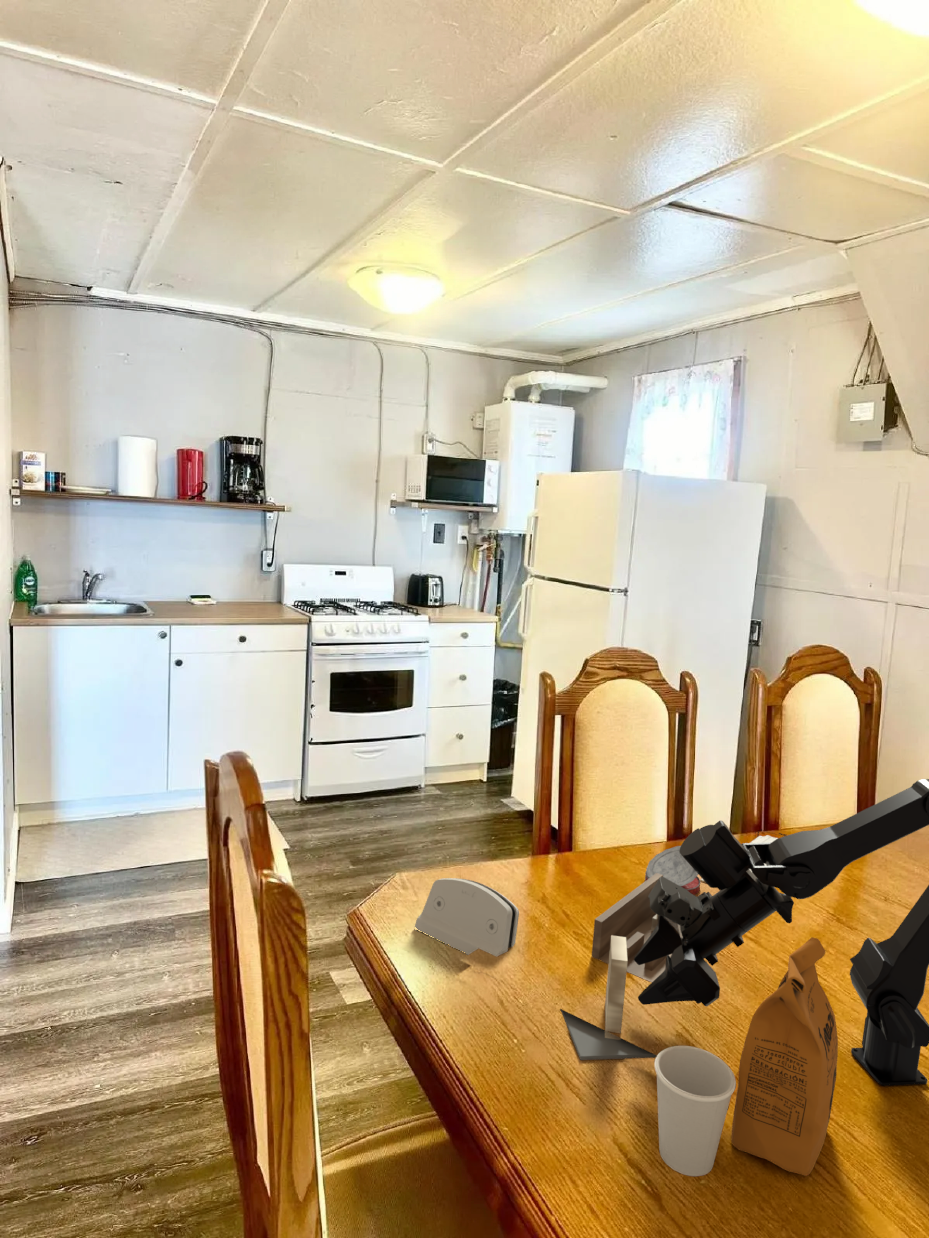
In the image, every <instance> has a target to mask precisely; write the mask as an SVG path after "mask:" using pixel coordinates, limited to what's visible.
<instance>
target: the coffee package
mask: <svg viewBox="0 0 929 1238" xmlns="http://www.w3.org/2000/svg"><path fill="white" fill-rule="evenodd" d="M824 955H826V949H825V948H824V946H823V944H822V943H821V940H820V939H819V938H817V937H811V938H809V939H808V940H807V941H806V942H805V943H803V944H802V945H801V946H800V947H799V948H797V949H796V950H795V951H793V952H792V953H790V954H789V955H788V961H787V962H788V963H787V964H788V965H787V969H788V970H786V972H785V974H784V976H783V977H782V979H781V981H780V983H779V985H778V987H777V989H776V990H775V991H774V992H772V993H771V994H770V995H769V996H767V997H766V998H765V999H763V1001H762V1002H760V1004H759V1006H758V1008H757V1009H756V1011H755V1012H754V1013H753V1015H752V1017H751V1020H750V1023H749V1026H748V1030H747V1034H746V1036H745V1040H744V1044H743V1048H742V1052H741V1055H740V1061H739V1066H738V1082H737V1084H738V1085H737V1090H736V1096H735V1103H734V1110H733V1118H732V1125H731V1144H732V1145H733V1147H735V1148H736V1149H737V1150H739V1151H741V1152H745V1153H748V1154H749V1155H752V1156H754V1157H758V1158H761V1159H765V1160H767V1161H769V1162H770V1163H773V1164H774V1165H776V1166H778V1167H779V1168H781V1169H783V1170H785V1171H786V1172H790V1173H796V1174H798V1175H802V1176H804V1177H805V1176H806V1177H807V1176H808V1175H810V1174H811V1172H813V1169H814V1166H815V1165H816V1163H817V1161H818V1158H819V1156H820V1153H821V1151H822V1148H823V1146H824V1144H825V1140H826V1136H827V1132H828V1128H829V1123H830V1119H831V1111H832V1108H833V1107H832V1106H833V1100H834V1099H833V1098H834V1092H835V1088H836V1087H835V1086H836V1082H837V1069H838V1067H837V1066H838V1065H837V1064H838V1057H839V1056H838V1052H839V1051H838V1049H839V1048H838V1047H839V1043H838V1042H839V1040H838V1039H839V1038H838V1037H839V1036H838V1029H837V1023H836V1022H837V1021H836V1016H835V1012H834V1010H833V1007H832V1005H831V1003H830V1001H829V998H828V996H827V994H826V992H825V991H824V989H823V987H822V985H821V984H820V982H819V977H818V971H817V968H816V963H817V962H818V961H820V960H821V959H822V958H823V957H824Z"/></svg>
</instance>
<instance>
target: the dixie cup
mask: <svg viewBox="0 0 929 1238" xmlns="http://www.w3.org/2000/svg"><path fill="white" fill-rule="evenodd" d="M656 1055H657V1057H655V1059H654V1071H655V1073H656V1089H657V1093H656V1094H657V1119H658V1146H659V1147H658V1149H659V1155H660V1157H661V1159H662V1160H663V1161H664V1163H665V1164H666V1165H667V1166H668V1167H670V1168H671V1169H672V1170H673V1171H676V1172H677V1173H679V1174H682V1175H685V1176H687V1177H700V1176H705V1175H707V1174H709V1173H710V1172H711V1171H712V1169H713V1167H714V1163H715V1159H716V1156H717V1152H718V1148H719V1143H720V1140H721V1136H722V1134H723V1129H724V1126H725V1125H724V1124H725V1121H726V1117H727V1114H728V1108H729V1105H730V1102H731V1097H732V1095H733V1093H734V1091H736V1085H737V1082H736V1076H735V1073H734V1071H732V1069H731V1066H729V1065H728V1064H727V1063H726V1062H725V1061H724V1060H723V1059H722V1058H720V1057H719V1056H717V1055H715V1054H714V1053H712V1052H710V1051H708V1050H705V1049H703V1048H700V1047H696V1046H690V1045H675V1046H674V1045H673V1046H669V1047H667V1048H664V1049H662V1050H661V1051H660V1052H659V1053H658V1054H656Z"/></svg>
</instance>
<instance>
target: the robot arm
mask: <svg viewBox="0 0 929 1238" xmlns="http://www.w3.org/2000/svg"><path fill="white" fill-rule="evenodd" d="M927 826H929V778H922V779H919V780H917V781H916V782H914V783H913V784H912V785H911V786H910V787H908V788H906V789H904V790H902V791H900V792H897V793H896V794H894V795H892V796H889V797H887V798H886V799H884V800H881V801H879V802H877V803H875V804H873V805H871V806H869V807H867V808H865V809H863V810H861V811H859V812H857V813H856V814H853V815H851V816H849V817H847V818H845V819H843V820H840V821H838V822H836V823H835V824H833V825H831V826H828V827H825V828H821V829H815V830H814V829H813V830H802V831H798V832H795V833H791V834H787V835H785V836H784V837H783V836H780V837H777V838H778V839H776V840H775V841H773V842H772V843H751V842H749V843H748V842H745V843H744V842H743V843H741V842H740V841H739V840H738V839H737V837H735V835H733V834H732V832H731V830H730V829H729V827H728V825H727V824H726V823H725V822H724V821H723V820H719V821H717V822H716V823H715V824H707V825H705V826H702V827H701V828H696V829H694V830H693V831H692V832H691V833H690V834H689V835H688V836H687V837H685V839H684V840H683V841H682V844H681V845H680V846H681V847H680V851H679V852H680V854H681V855H682V856H683V857H684V859H685V860H686V861H687V862H688V863H689V864H690V865H691V866H692V868H693V869H694V870H695V871H696V872H697V873H698V875H699V877H701V879H703V880H704V881H705V882H706V883H705V884H707V885H708V887H709V888H711V889H715V888H716V889H718V890H719V891H717V892H716V893H714V894H713V895H712V894H711V893H710V892H709V891H706V892H705V891H704V892H702V893H700V894H699V895H698V896H696V894H695V895H693V894H691V893H690V892H689V891H687V890H686V889H684V888H682V887H681V886H679V885H677V884H675V883H673V882H672V881H670V880H668V879H666V878H664V877H660V878H659V879H658V881H657V883H656V884H655V886H654V888H653V889H652V891H651V892H650V894H649V896H648V898H649V899H650V908H651V910H652V911H653V912H655V913H656V914H658V924H657V926H656V928H655V929H654V931H653V932H652V934H651V935H650V936H649V938H648V939H647V941H646V942H645V943H644V945H643V946H642V947H641V949H640V950H639V952H638V953H637V954H636V956H635V957H634V961H635V962H636V963H637V964H638V965H641V964H645V963H648V962H651V961H654V960H657V959H659V958H662V957H665V956H667V958H666V967H665V971H664V972H663V973H662V974H660V975H659V976H658V977H657V978H656V979H655V980H654V981H653V982H650V984H648V986H647V987H646V988H645V989H643V991H641V993H640V994H639V995H638V996H637V999H638V1000H637V1001H639V1002H640V1004H642V1005H643V1006H644V1005H655V1004H662V1003H663V1004H665V1003H673V1002H674V1003H675V1002H695V1003H696V1004H697V1005H699V1004H703V1007H709V1006H710V1005H711V1004H713V1003H714V1002H715V1001H717V1000H719V999H720V993H721V992H720V991H721V987H720V984H719V979H718V976H717V972H716V971H715V969H713V968H712V966H714V965H716V964H717V963H718V962H719V960H718V956H717V954H719V953H720V952H721V951H723V950H725V948H727V947H728V946H730V945H731V944H734V945H735V946H736V948H739V947H740V946H742V945H743V944H744V943H745V942H744V939H743V935H745V934H746V933H748V932H749V931H751V930H752V929H753V928H754V927H756V926H757V925H759V924H760V923H761V922H763V921H764V920H766V919H767V918H768V917H770V916H771V915H772V914H774V913H777V914H778V915H779V916H780V917H781V918H782V919H783V920H784V921H785V923H786V924H791V923H792V922H793V907H794V904H795V902H794V900H793V898H794V899H797V900H805V899H808V898H812V896H815V895H816V894H817V893H819V892H820V891H822V890H824V889H825V888H826V887H828V886H829V885H830V884H832V883H834V881H835V880H836V878H837V877H838V876H839V875H840V874H841V872H842V871H843V870H844V869H845V868H846V867H848V866H849V865H850V864H851V863H853V862H855V861H857V860H859V859H861V858H863V857H866V856H867V855H870V854H871V853H873V852H876V851H878V850H879V849H882V848H884V847H886V846H889V845H891V844H892V843H894V842H896V841H899V840H901V839H903V838H904V837H907V836H909V835H911V834H913V833H915V832H917V831H920V830H921V829H922V830H923V828H926V827H927ZM764 864H766V865H767V866H765V865H764ZM749 869H751V871H752V872H751V871H750V870H749ZM777 889H778V890H779V891H778V890H777ZM780 891H781V892H780ZM912 906H913V907H912V908H911V909H910V910H909V911H908V913H907V914H906V916H905V918H904V919H903V920H902V922H901V923H900V925H899V926H898V927H897V929H896V930H895V932H894V933H893V934H892V935H891V936H890V937H889V938H886V939H884V940H883V941H880V942H878V943H877V942H875V940H873V939H872V938H871V937H866V939H865V940H864V941H863V943H862V946H861V948H860V950H859V951H858V952H857V953H856V954H855V955H853V957H851V958H850V959H849V961H850V962H851V968H850V970H849V976H850V980H851V984H852V987H853V988H854V989H855V991H856V993H857V996H859V998H860V1000H861V1002H862V1004H863V1005H864V1006H863V1007H865V1009H866V1011H867V1013H866V1016H865V1020H864V1026H863V1033H862V1039H861V1040H862V1041H861V1047H851V1048H850V1049H851V1050H850V1053H851V1054H852V1056H853V1057H854V1058H855V1059H856V1060H857V1061H858V1062H859V1064H861V1066H862V1067H863V1068H864V1069H865V1070H866V1071H867V1072H868V1074H869V1075H870V1076H871V1077H872V1078H873V1079H874V1081H875V1082H877V1083H878V1085H881V1086H883V1087H885V1086H886V1087H889V1086H905V1085H906V1086H908V1085H926V1084H928V1078H927V1077H926V1076H925V1075H924V1074H923V1073H922V1072H921V1071H920V1070H919V1062H920V1056H921V1055H920V1054H921V1048H927V1047H928V1046H929V1023H928V1021H927V1020H926V1019H925V1016H924V1015H923V1014H922V1012H921V1011H920V1010H919V1008H918V1007H919V1004H920V1003H921V1000H922V998H923V996H924V994H925V988H926V987H925V986H926V981H927V975H928V974H927V973H928V969H929V884H928V885H927V887H926V888H925V889H924V891H923V892H922V894H921V895H920V896H919V898H918V899H917V900H916V902H915V903H914V905H912ZM670 954H672V955H671V958H670V956H669V955H670ZM705 959H706V960H705Z"/></svg>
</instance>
